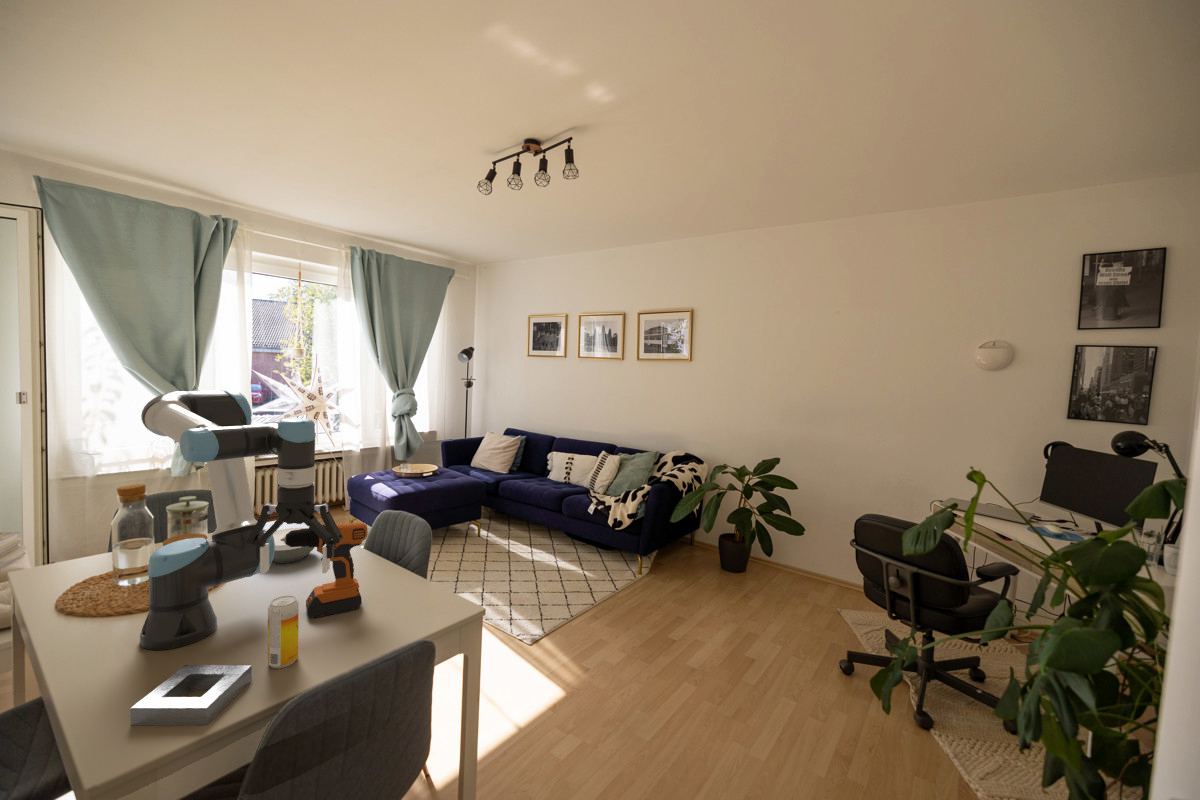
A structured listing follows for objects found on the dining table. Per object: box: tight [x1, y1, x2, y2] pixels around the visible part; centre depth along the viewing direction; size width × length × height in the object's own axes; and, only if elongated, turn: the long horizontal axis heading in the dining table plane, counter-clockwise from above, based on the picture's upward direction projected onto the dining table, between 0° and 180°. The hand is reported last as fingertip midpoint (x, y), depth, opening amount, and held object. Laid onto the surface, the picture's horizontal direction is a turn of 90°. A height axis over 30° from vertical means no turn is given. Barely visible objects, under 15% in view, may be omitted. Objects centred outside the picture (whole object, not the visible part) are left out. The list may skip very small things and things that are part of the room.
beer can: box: [267, 595, 299, 669], centre depth 119 cm, size 6×6×15 cm
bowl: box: [272, 527, 315, 564], centre depth 180 cm, size 19×19×8 cm
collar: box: [130, 664, 253, 726], centre depth 105 cm, size 14×14×4 cm
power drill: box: [281, 521, 368, 619], centre depth 143 cm, size 22×7×25 cm, turn 123°
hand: (295, 571), depth 121 cm, fingers open, 13 cm apart
